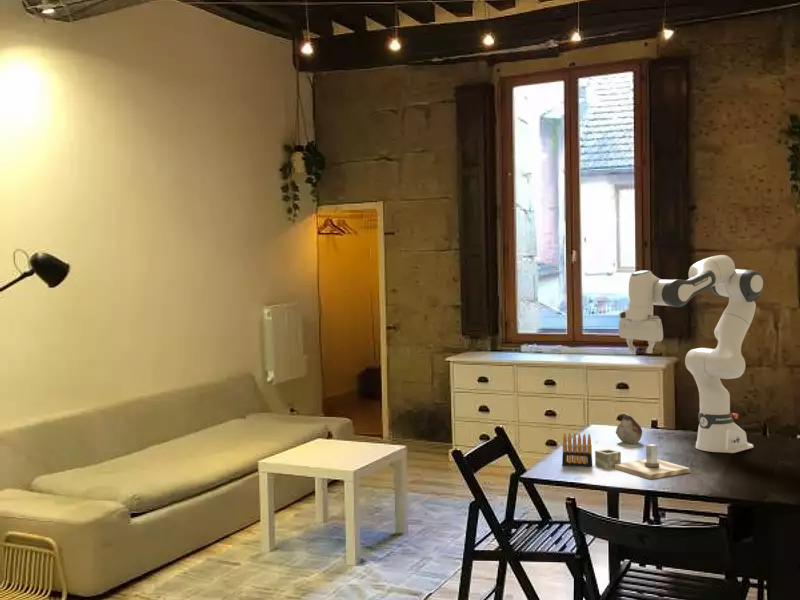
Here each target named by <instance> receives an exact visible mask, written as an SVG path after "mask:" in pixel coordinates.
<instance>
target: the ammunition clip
mask: <svg viewBox="0 0 800 600" xmlns="http://www.w3.org/2000/svg"><path fill="white" fill-rule="evenodd" d="M590 434H591V433H588V435H587V437H586V433H583V434H582V436H581V434H580V433H578V436H577V435H576V433H573V436H572V435H571V433H568V435H567V434H566V432H564V433H563V436H562V457H561V458H562V459H561V460H562V462H561V463H562V466H563V467H577V468H579V467H580V468H593V451H592V450H593V449H592V437H591V435H590ZM567 436H568V438H567Z"/></svg>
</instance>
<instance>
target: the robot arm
mask: <svg viewBox="0 0 800 600" xmlns="http://www.w3.org/2000/svg"><path fill="white" fill-rule="evenodd" d="M763 277H764V276H763V275H762V274H761V272H759V271H757V270H753V269H743V268H742V269H741V268H740V269H739V268H736V266H735V262H734V260H733V259H732V258H731V257H730V256H728V255H725V254H719V255H718V254H717V255H713V256H710V257H706V258H703V259H701V260H699V261H696V262H695V263H693V264H692V265H691V266H690V267H689V270H688V279H680V278H679V279H661V278H659V277H658V276H656V275H655V274H653V272H652V271H651V270H638V271H634V272H632V273H631V274H630V277H629V281H628V297H629V303H628V307H627V308H628V309H626V310H624V311H620V312H619V314H618V318H619V322H618V335H619V338H620V339H625V340H626V341H625V342H626V344H627V346H628V351H629V352H634V351H635V350H636V349H635V348H636V346H635V345H634V344H633V342H634V340H637V341H645V342H646V341H647V344H648V346H647V348H646V349H645V353H646V354H653V352H654V351H653V349H654V347H655V345H656V342H662V341H663V339H664V330H663V329H664V328H663V324H662V319H661V317H660V316H659V315H654V306H663V307H664V306H667V307H674V308H682V307H683V306H685V305H686V304H688V303H689V302H690V300H691V299H693V297H695V296H697V295H698V294H700V293H702V292H705V291H706V290H708V289H710V291H711V292H712V294H713V295H716V296H718V297H722V298H723V297H724V298H728V304H727V306H726V308H725V309H724V311H723V312H722V314H721V315H720V318H719V321H718V322H717V324H716V326H715V328H714V330H713V334H714V337H715V339H716V340H717V345H716V347H715V348H709V347H698V348H693V349H690V350H689V351H687V352H686V355H685V358H684V365H685V368H686V369H687V371H688V372H689V373H690V374H691V375H692V377H693V378H694V381H695V383H696V386H697V390H698V396H699V397H698V398H699V412H698V422H699V424H698V429H697V437H696V442H695V448H696V449H697V450H700V451H704V452H710V453H711V452H712V453H726V454H727V453H728V454H734V453H735V454H736V453H739V452H742V451H746V450H749V449H753V448H754V444H753V443H750V442H748V439H747V437H748V436H747V432H746V431H745V430H744V429H743V428H741V427H740V426H739V425H737V424H736V423H735V422H734V419H736V420H737V419H738V413H734V412H732V413H731V401H730V400H731V399H730V398H731V395H730V392H729V391H728V389H727V388H725V386H724V385H723V382H722V381H721V379H722V380H723V379H724V380H730V379H731V380H732V379H739V378H740V377H742V375H744V373H745V370H746V361H745V358H744V356H743V355H742V344H743V342H744V339H745V337H746V334H747V332H748V330H749V328H750V326H751V324H752V322H753V319H754V316H755V312H756V308H757V304H756V302H755V301H756V300H758V298H759V297H760V295H761V293H762V292H763V289H764V287H765V282H764V281H765V280H764V278H763Z"/></svg>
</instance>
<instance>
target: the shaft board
mask: <svg viewBox="0 0 800 600" xmlns="http://www.w3.org/2000/svg"><path fill="white" fill-rule="evenodd" d="M645 446H646V447H645V449H646V450H645V451H646V455H645V456H646V458H644V459H639V460H633V461H632V460H631V461H628V462H621V463H619V464H615V467H614V469H616V470H619V471H622V472H625V473H629V474H632V475H636V476H639V477H642V478H643V479H644V478H645V479H647V480H654V479H655V480H656V479H660V478H666V477H671V476H676V475H682V474H687V473H688V474H689V473H691V472H690V471H691V469H690V467H687V466H683V465H680V464H676V463H672V462H670V461H666V460H661V459H658V445H657V444H653V443H651V444H650V443H649V444H646V445H645Z"/></svg>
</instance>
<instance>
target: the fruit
mask: <svg viewBox="0 0 800 600" xmlns="http://www.w3.org/2000/svg"><path fill="white" fill-rule="evenodd" d="M615 434H616V437H617V438H618V439H619V440H620V441H621V442H622V443H624V444H635V445H636V444H637V443H639V442H641V441H640V440H641V439H642V435H643V429H642V427H641V426H640V424H639V423H638V422H637V421H636V420H635V419H634V418H633V416H631V415H626V414H623V418H622V419H621V421H620V423H619V424H618V425H617V427H616V429H615Z"/></svg>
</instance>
